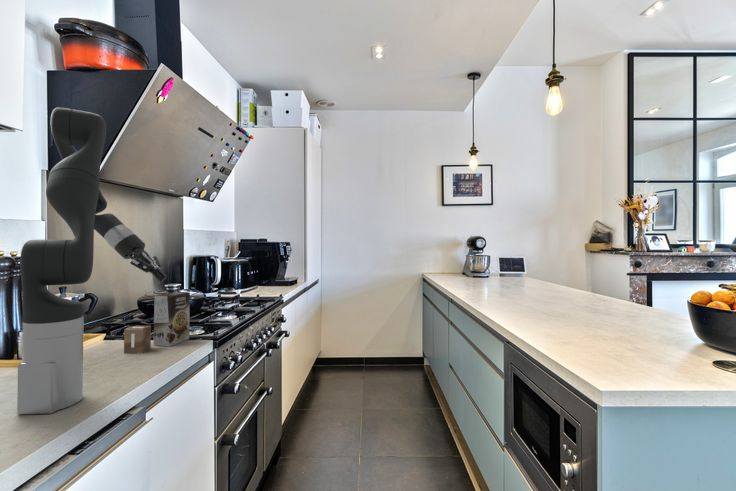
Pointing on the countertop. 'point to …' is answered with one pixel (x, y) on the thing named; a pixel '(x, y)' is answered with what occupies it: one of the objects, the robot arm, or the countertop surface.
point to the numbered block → (137, 339)
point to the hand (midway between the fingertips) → (164, 279)
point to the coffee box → (171, 318)
